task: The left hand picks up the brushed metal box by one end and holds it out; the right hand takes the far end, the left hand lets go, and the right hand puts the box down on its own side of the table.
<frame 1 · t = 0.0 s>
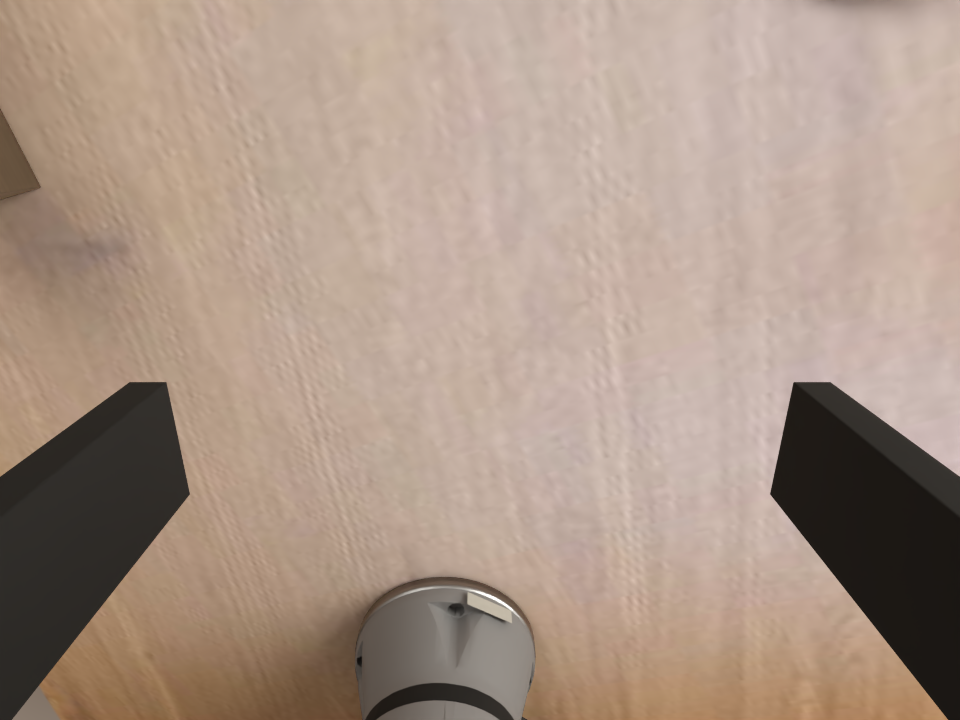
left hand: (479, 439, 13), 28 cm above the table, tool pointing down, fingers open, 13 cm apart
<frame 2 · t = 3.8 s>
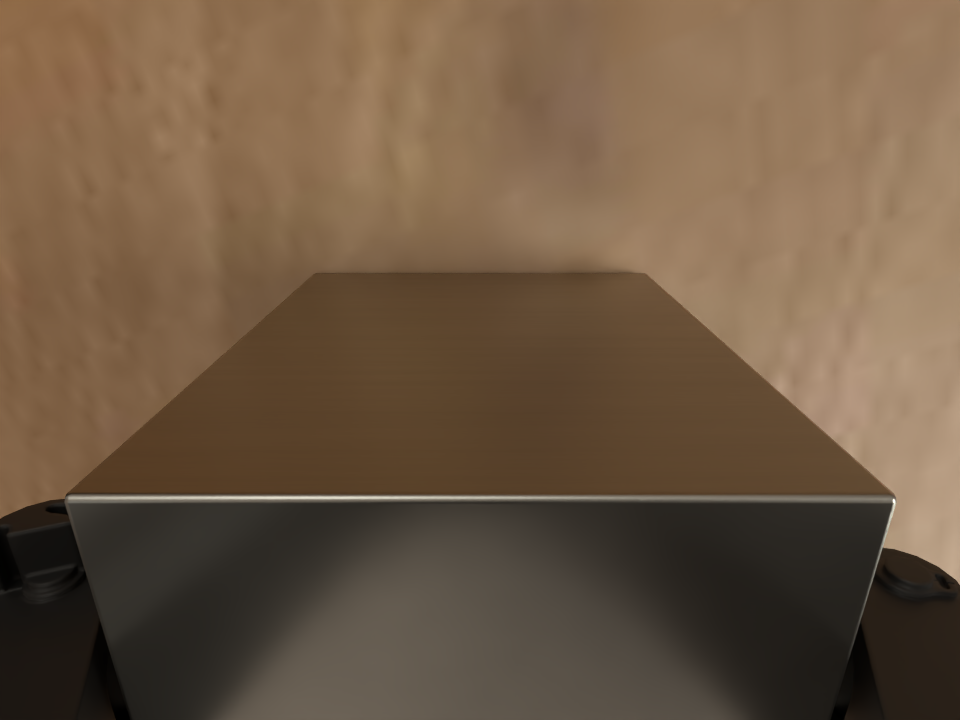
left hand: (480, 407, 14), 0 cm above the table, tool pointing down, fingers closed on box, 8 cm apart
box: (480, 617, 17), on the table, touching left hand
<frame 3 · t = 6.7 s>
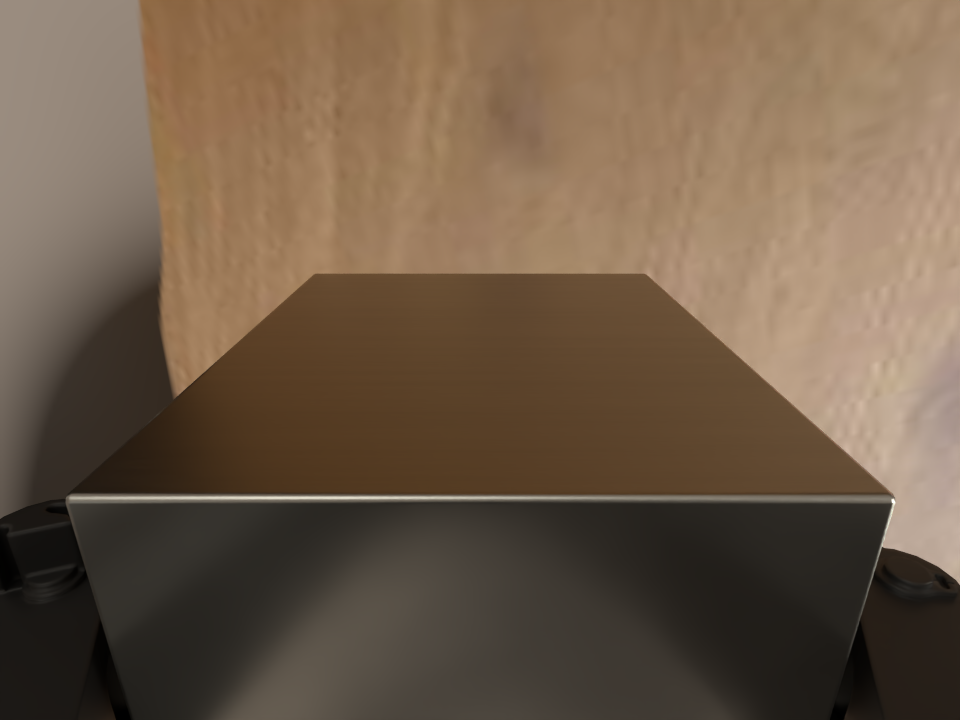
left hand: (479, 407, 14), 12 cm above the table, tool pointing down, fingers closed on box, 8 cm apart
box: (480, 617, 17), point 12 cm above the table, touching left hand
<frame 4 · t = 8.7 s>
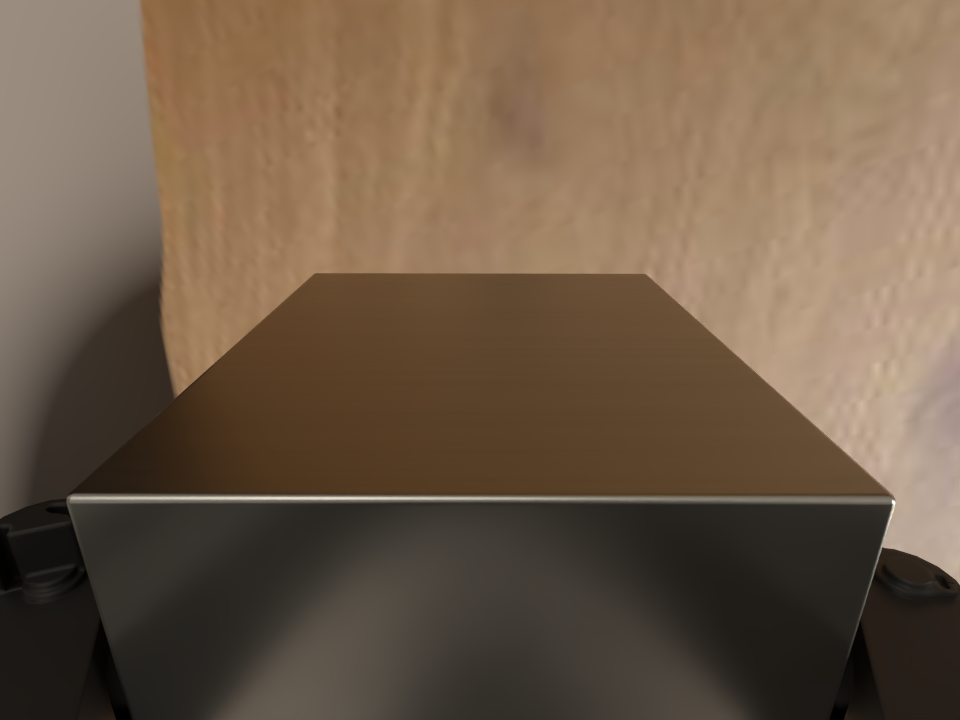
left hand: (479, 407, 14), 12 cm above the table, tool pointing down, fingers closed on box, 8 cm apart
box: (479, 617, 17), point 12 cm above the table, touching left hand, right hand
when the left hand's fingers open (12 cm above the table, at t = 9.7 s): box stays where it is, held by the right hand.
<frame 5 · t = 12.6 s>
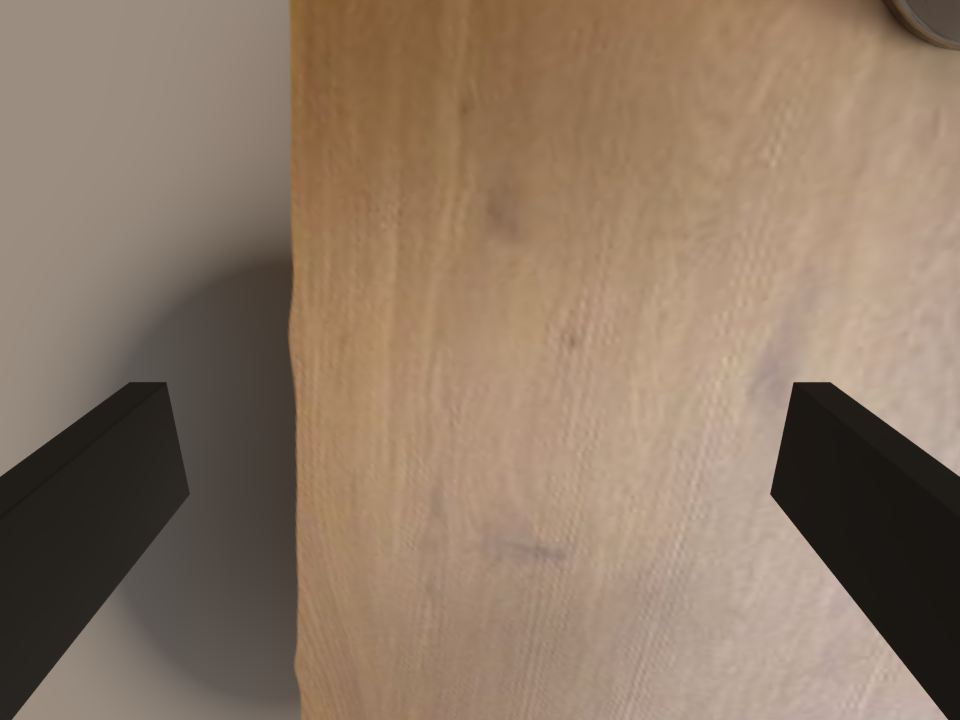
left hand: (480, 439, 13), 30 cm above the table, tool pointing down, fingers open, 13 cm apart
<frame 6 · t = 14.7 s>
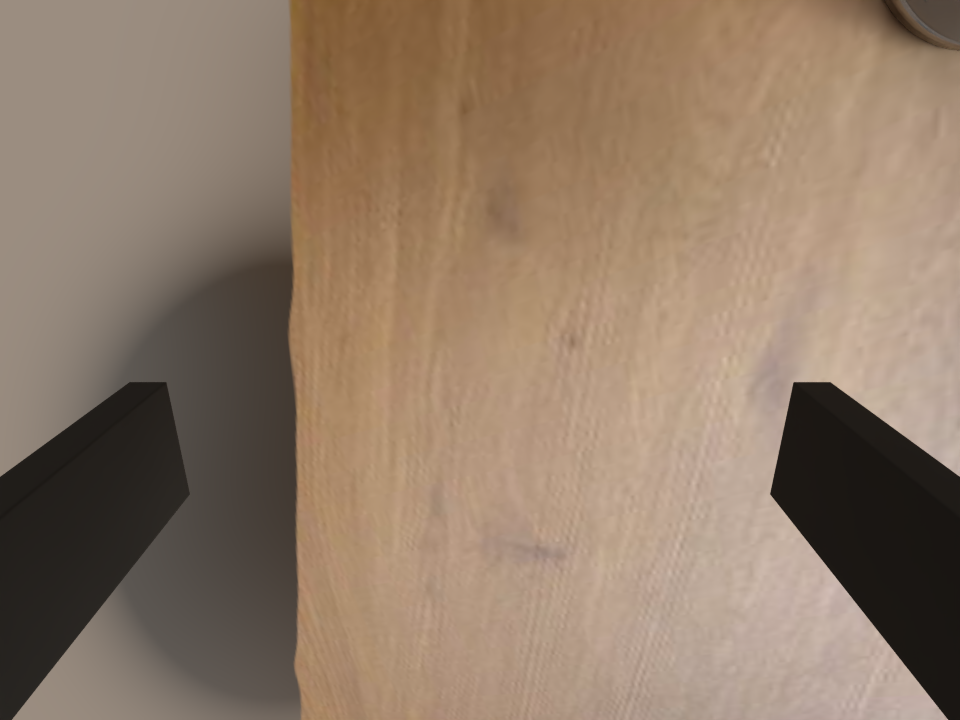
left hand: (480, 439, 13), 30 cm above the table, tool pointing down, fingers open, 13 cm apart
when the right hand's fingers open (1 cm above the table, at t = 16.6 s): box stays where it is, on the table.
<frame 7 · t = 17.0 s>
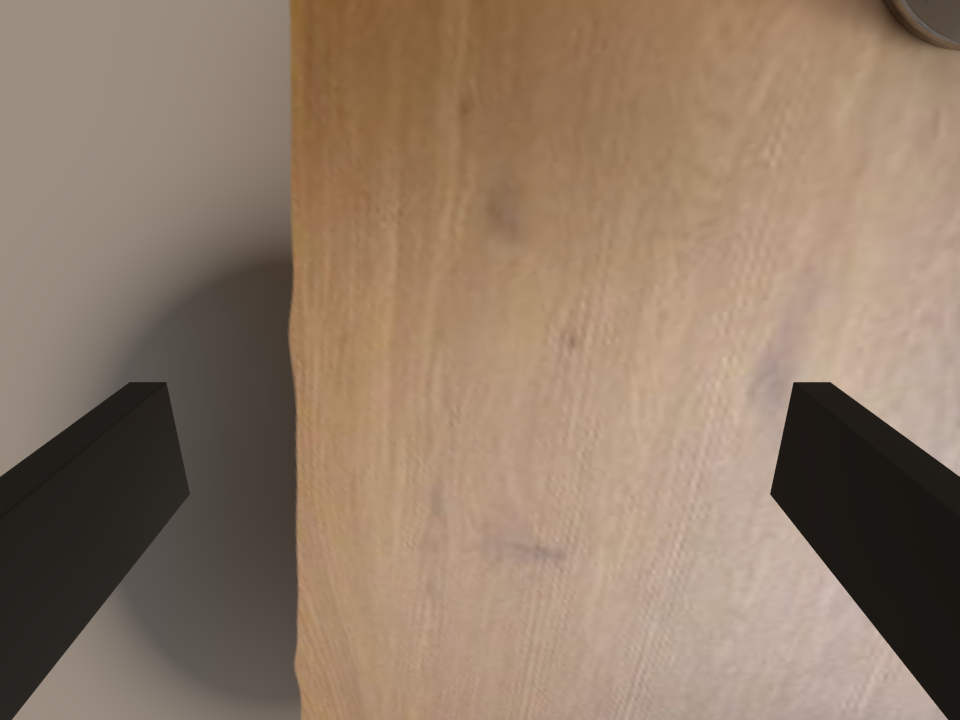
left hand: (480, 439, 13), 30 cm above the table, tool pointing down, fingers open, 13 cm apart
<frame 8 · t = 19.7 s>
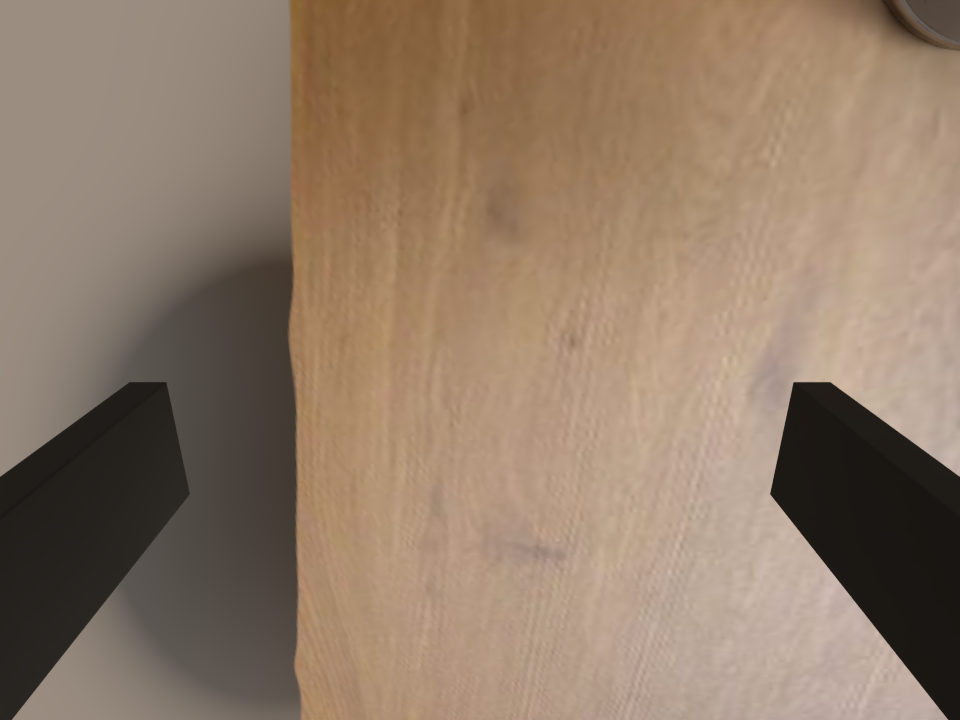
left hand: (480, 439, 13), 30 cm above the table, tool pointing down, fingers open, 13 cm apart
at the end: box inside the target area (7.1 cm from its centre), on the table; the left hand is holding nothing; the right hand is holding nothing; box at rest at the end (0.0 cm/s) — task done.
